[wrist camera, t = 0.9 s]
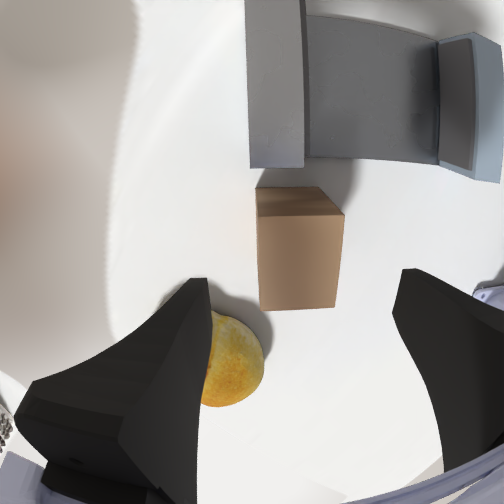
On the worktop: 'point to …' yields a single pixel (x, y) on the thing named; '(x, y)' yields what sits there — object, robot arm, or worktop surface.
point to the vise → (337, 89)
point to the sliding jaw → (471, 107)
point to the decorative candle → (5, 425)
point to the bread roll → (232, 363)
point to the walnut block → (297, 248)
